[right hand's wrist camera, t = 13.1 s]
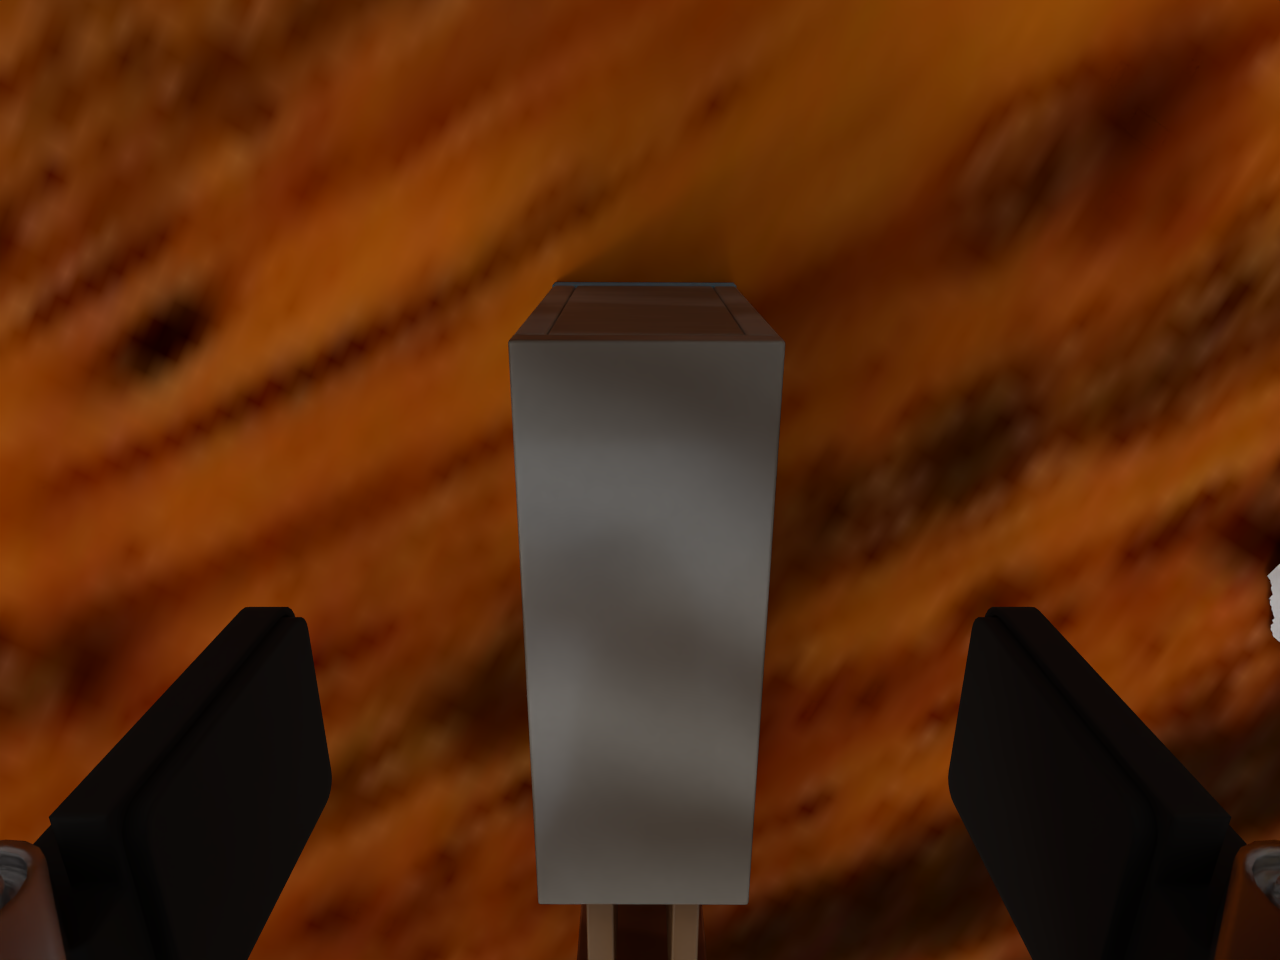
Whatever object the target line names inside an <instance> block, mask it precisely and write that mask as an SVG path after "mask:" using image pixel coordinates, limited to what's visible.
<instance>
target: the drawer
mask: <svg viewBox="0 0 1280 960" xmlns="http://www.w3.org/2000/svg"><path fill="white" fill-rule="evenodd" d="M577 960H707V958H706V947H705V935H704V923H703V912H702V904H582V905H581V917H580V929H579V942H578V954H577Z"/></svg>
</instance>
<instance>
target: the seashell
mask: <svg viewBox="0 0 1280 960" xmlns="http://www.w3.org/2000/svg"><path fill="white" fill-rule="evenodd" d="M1268 578H1269V579H1270V581H1271V584H1272V587H1271V590H1272V594H1273V595H1272V596H1271V597H1270V598H1269V599H1271V600H1270V605H1271V606H1272V611H1273V615H1274V619H1273V620H1272V621H1273V624H1272V625H1271V631H1272V633H1273V637H1275V638H1276V639H1277V640H1278V641H1280V564H1279V565H1278V566H1277V567H1276V568H1275V569H1274V570H1273V571H1272V572H1271V573H1270V574H1269V575H1268Z"/></svg>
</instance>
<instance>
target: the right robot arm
mask: <svg viewBox="0 0 1280 960" xmlns="http://www.w3.org/2000/svg"><path fill="white" fill-rule="evenodd" d="M331 782H332V775H331V767H330V761H329V754H328V748H327V742H326V736H325V730H324V724H323V718H322V712H321V705H320V699H319V693H318V687H317V681H316V675H315V669H314V663H313V656H312V650H311V644H310V638H309V632H308V627H307V623H306V621H305V619H303V618H302V617H295V615H294V613H293V611H292V610H291V609H290V608H289V607H245V608H244V609H242V610H241V611H240V612H239V613H238V614H237V615H236V616H235V617H234V619H233V620H232V621H231V622H230V623H229V624H228V625H227V626H226V627H225V628H224V629H223V630H222V631H221V633H220V634H219V635H218V636H217V637H216V638H215V639H214V640H213V641H212V642H211V643H210V644H209V645H208V646H207V648H206V649H205V650H204V651H203V652H202V653H201V654H200V655H199V656H198V657H197V658H196V659H195V660H194V662H193V663H192V664H191V665H190V666H189V667H188V668H187V669H186V670H185V671H184V672H183V673H182V674H181V676H180V677H179V678H178V679H177V680H176V681H175V682H174V683H173V684H172V685H171V686H170V687H169V688H168V689H167V691H166V692H165V693H164V694H163V695H162V696H161V697H160V698H159V699H158V700H157V701H156V702H155V703H154V705H153V706H152V707H151V708H150V709H149V710H148V711H147V712H146V713H145V714H144V715H143V716H142V717H141V719H140V720H139V721H138V722H137V723H136V724H135V725H134V726H133V727H132V728H131V729H130V730H129V731H128V733H127V734H126V735H125V736H124V737H123V738H122V739H121V740H120V741H119V742H118V743H117V744H116V745H115V746H114V748H113V749H112V750H111V751H110V752H109V753H108V754H107V755H106V756H105V757H104V758H103V759H102V760H101V762H100V763H99V764H98V765H97V766H96V767H95V768H94V769H93V770H92V771H91V772H90V773H89V774H88V776H87V777H86V778H85V779H84V780H83V781H82V782H81V783H80V784H79V785H78V786H77V787H76V788H75V789H74V791H73V792H72V793H71V794H70V795H69V796H68V797H67V798H66V799H65V800H64V801H63V802H62V803H61V805H60V806H59V807H58V808H57V809H56V810H55V811H54V812H53V813H52V814H51V815H50V816H49V819H50V822H51V825H50V827H49V828H48V829H47V830H46V831H45V832H44V833H43V834H42V835H41V836H40V837H39V839H38V840H37V841H36V842H35V843H34V844H31V843H28V842H26V841H17V840H1V841H0V960H247V959H248V957H249V955H250V953H251V951H252V949H253V947H254V945H255V943H256V942H257V940H258V938H259V936H260V934H261V932H262V930H263V928H264V926H265V924H266V922H267V920H268V918H269V916H270V914H271V912H272V910H273V908H274V906H275V904H276V902H277V900H278V898H279V896H280V894H281V892H282V890H283V888H284V886H285V884H286V882H287V880H288V878H289V876H290V874H291V872H292V870H293V868H294V866H295V864H296V862H297V860H298V858H299V856H300V854H301V852H302V850H303V848H304V846H305V844H306V842H307V840H308V838H309V836H310V834H311V832H312V831H313V829H314V827H315V825H316V823H317V821H318V819H319V817H320V815H321V813H322V811H323V809H324V807H325V805H326V803H327V800H328V798H329V794H330V790H331ZM948 782H949V790H950V794H951V798H952V800H953V803H954V805H955V807H956V809H957V811H958V813H959V815H960V817H961V819H962V821H963V823H964V825H965V827H966V829H967V831H968V832H969V834H970V836H971V838H972V840H973V842H974V844H975V846H976V848H977V850H978V852H979V854H980V856H981V858H982V860H983V862H984V864H985V866H986V868H987V870H988V872H989V874H990V876H991V878H992V880H993V882H994V884H995V886H996V888H997V890H998V892H999V894H1000V896H1001V898H1002V900H1003V902H1004V904H1005V906H1006V908H1007V910H1008V912H1009V914H1010V916H1011V918H1012V920H1013V922H1014V924H1015V926H1016V928H1017V930H1018V932H1019V934H1020V936H1021V938H1022V940H1023V942H1024V943H1025V945H1026V947H1027V949H1028V951H1029V953H1030V955H1031V957H1032V959H1033V960H1280V841H1279V840H1263V841H1254V842H1252V843H1249V844H1246V843H1245V842H1244V841H1243V840H1242V839H1241V837H1240V836H1239V835H1238V834H1237V833H1236V832H1235V831H1234V830H1233V829H1232V828H1231V827H1230V825H1229V822H1230V819H1231V816H1230V815H1229V814H1228V813H1227V812H1226V811H1225V810H1224V809H1223V808H1222V807H1221V806H1220V805H1219V803H1218V802H1217V801H1216V800H1215V799H1214V798H1213V797H1212V796H1211V795H1210V794H1209V793H1208V792H1207V791H1206V789H1205V788H1204V787H1203V786H1202V785H1201V784H1200V783H1199V782H1198V781H1197V780H1196V779H1195V778H1194V777H1193V776H1192V774H1191V773H1190V772H1189V771H1188V770H1187V769H1186V768H1185V767H1184V766H1183V765H1182V764H1181V763H1180V762H1179V760H1178V759H1177V758H1176V757H1175V756H1174V755H1173V754H1172V753H1171V752H1170V751H1169V750H1168V749H1167V748H1166V746H1165V745H1164V744H1163V743H1162V742H1161V741H1160V740H1159V739H1158V738H1157V737H1156V736H1155V735H1154V734H1153V733H1152V731H1151V730H1150V729H1149V728H1148V727H1147V726H1146V725H1145V724H1144V723H1143V722H1142V721H1141V720H1140V719H1139V717H1138V716H1137V715H1136V714H1135V713H1134V712H1133V711H1132V710H1131V709H1130V708H1129V707H1128V706H1127V705H1126V703H1125V702H1124V701H1123V700H1122V699H1121V698H1120V697H1119V696H1118V695H1117V694H1116V693H1115V692H1114V691H1113V689H1112V688H1111V687H1110V686H1109V685H1108V684H1107V683H1106V682H1105V681H1104V680H1103V679H1102V678H1101V677H1100V676H1099V674H1098V673H1097V672H1096V671H1095V670H1094V669H1093V668H1092V667H1091V666H1090V665H1089V664H1088V663H1087V662H1086V660H1085V659H1084V658H1083V657H1082V656H1081V655H1080V654H1079V653H1078V652H1077V651H1076V650H1075V649H1074V648H1073V646H1072V645H1071V644H1070V643H1069V642H1068V641H1067V640H1066V639H1065V638H1064V637H1063V636H1062V635H1061V634H1060V633H1059V631H1058V630H1057V629H1056V628H1055V627H1054V626H1053V625H1052V624H1051V623H1050V622H1049V621H1048V620H1047V619H1046V617H1045V616H1044V615H1043V614H1042V613H1041V612H1040V611H1039V610H1038V609H1036V608H1035V607H991V608H990V609H989V610H988V611H987V613H986V615H985V617H978V618H977V619H975V621H974V623H973V627H972V632H971V638H970V644H969V650H968V656H967V663H966V669H965V675H964V681H963V687H962V693H961V699H960V705H959V712H958V718H957V724H956V730H955V736H954V742H953V748H952V754H951V761H950V767H949V775H948Z"/></svg>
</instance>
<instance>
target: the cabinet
mask: <svg viewBox="0 0 1280 960" xmlns="http://www.w3.org/2000/svg"><path fill="white" fill-rule="evenodd" d="M508 347H509V366H510V384H511V403H512V422H513V440H514V459H515V478H516V496H517V515H518V534H519V552H520V571H521V590H522V608H523V627H524V646H525V664H526V683H527V702H528V720H529V739H530V758H531V776H532V795H533V814H534V832H535V851H536V870H537V888H538V902H539V904H739V905H746V904H748V899H749V883H750V868H751V853H752V838H753V823H754V808H755V793H756V778H757V763H758V748H759V732H760V717H761V702H762V687H763V672H764V657H765V642H766V627H767V612H768V597H769V582H770V566H771V551H772V536H773V521H774V506H775V491H776V476H777V461H778V446H779V431H780V415H781V400H782V385H783V370H784V355H785V342H784V340H783V339H782V338H781V337H780V336H779V335H778V334H777V333H776V332H775V331H774V330H773V328H772V327H771V326H770V325H769V324H768V323H767V322H766V321H765V320H764V318H763V317H762V316H761V315H760V314H759V313H758V312H757V311H756V309H755V308H754V307H753V306H752V305H751V304H750V303H749V302H748V301H747V299H746V298H745V297H744V296H743V295H742V294H741V293H740V292H739V290H738V289H737V288H736V285H735V284H734V283H664V282H555V283H554V284H553V288H552V289H551V290H550V291H549V293H548V294H547V295H546V296H545V298H544V299H543V300H542V301H541V302H540V304H539V305H538V306H537V307H536V309H535V310H534V311H533V312H532V314H531V315H530V316H529V317H528V318H527V320H526V321H525V322H524V323H523V325H522V326H521V327H520V328H519V330H518V331H517V332H516V333H515V335H513V336H512V338H511V339H510V340H509V342H508Z"/></svg>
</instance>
